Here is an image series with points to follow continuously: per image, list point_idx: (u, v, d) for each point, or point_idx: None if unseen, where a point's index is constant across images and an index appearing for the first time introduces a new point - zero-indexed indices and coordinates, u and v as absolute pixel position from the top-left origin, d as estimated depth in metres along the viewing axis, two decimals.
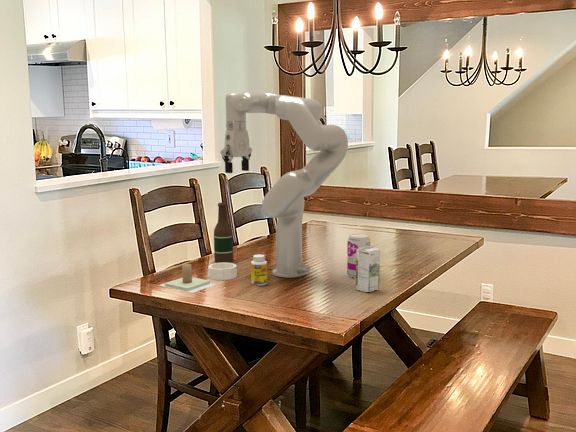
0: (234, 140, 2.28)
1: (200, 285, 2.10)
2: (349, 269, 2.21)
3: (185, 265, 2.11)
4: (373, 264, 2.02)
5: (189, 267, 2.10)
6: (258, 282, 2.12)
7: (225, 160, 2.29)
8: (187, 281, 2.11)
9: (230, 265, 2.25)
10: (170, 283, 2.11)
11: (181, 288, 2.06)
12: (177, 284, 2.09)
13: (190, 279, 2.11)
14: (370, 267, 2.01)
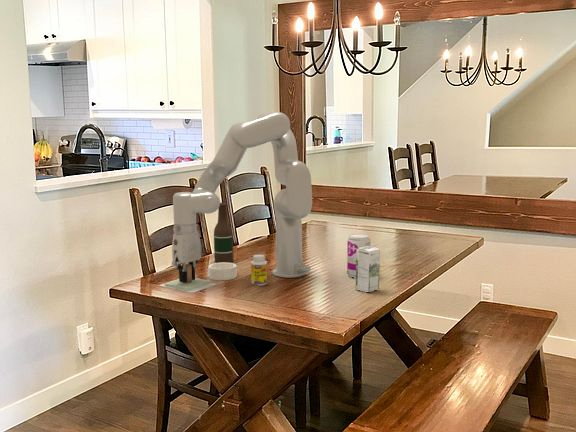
0: (182, 245, 2.05)
1: (200, 285, 2.10)
2: (349, 269, 2.21)
3: None
4: (373, 264, 2.02)
5: (189, 267, 2.10)
6: (258, 282, 2.12)
7: (179, 269, 2.09)
8: (187, 281, 2.11)
9: (230, 265, 2.25)
10: (170, 283, 2.11)
11: (181, 288, 2.06)
12: (177, 284, 2.09)
13: (190, 279, 2.11)
14: (370, 267, 2.01)
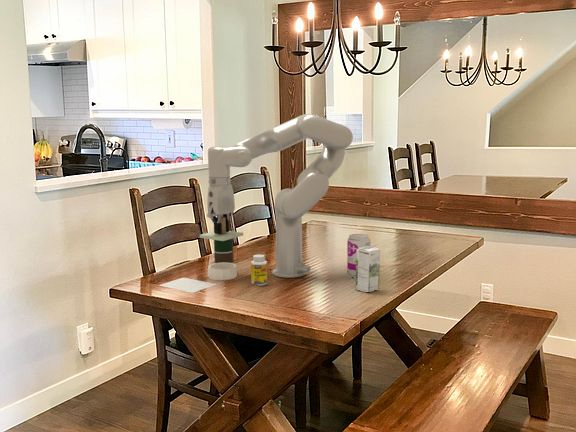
0: (217, 197, 2.13)
1: (234, 236, 2.18)
2: (349, 269, 2.21)
3: None
4: (373, 264, 2.02)
5: (223, 219, 2.18)
6: (258, 282, 2.12)
7: (214, 221, 2.16)
8: None
9: (230, 265, 2.25)
10: (205, 235, 2.19)
11: (217, 238, 2.14)
12: (212, 235, 2.17)
13: (224, 231, 2.19)
14: (370, 267, 2.01)
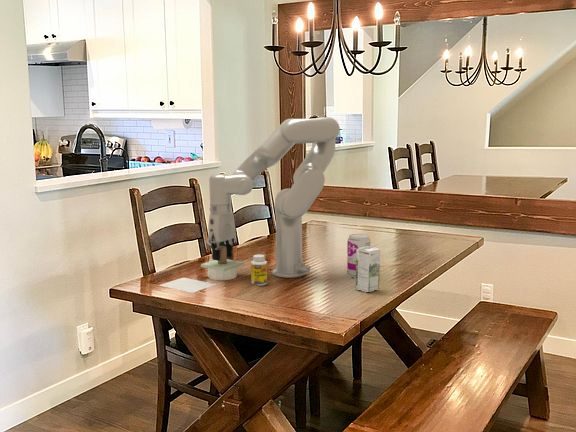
0: (218, 225, 2.15)
1: (235, 266, 2.20)
2: (349, 269, 2.21)
3: (220, 247, 2.21)
4: (373, 264, 2.02)
5: (224, 249, 2.20)
6: (258, 282, 2.12)
7: (212, 247, 2.17)
8: (222, 262, 2.21)
9: None
10: (206, 264, 2.21)
11: (217, 268, 2.16)
12: (213, 265, 2.19)
13: (225, 260, 2.21)
14: (370, 267, 2.01)
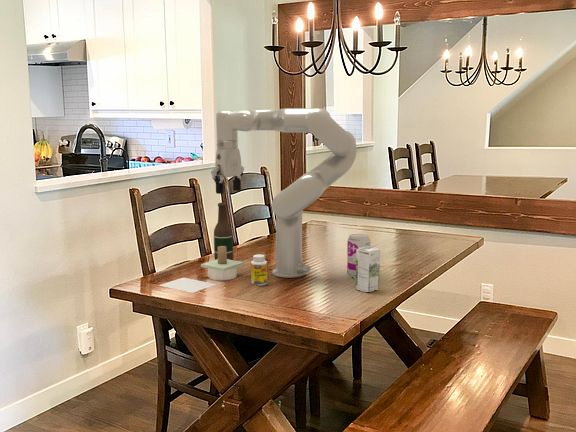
0: (225, 160, 2.19)
1: (235, 266, 2.20)
2: (349, 269, 2.21)
3: (220, 247, 2.21)
4: (373, 264, 2.02)
5: (224, 249, 2.20)
6: (258, 282, 2.12)
7: (216, 180, 2.20)
8: (222, 262, 2.21)
9: None
10: (206, 264, 2.21)
11: (217, 268, 2.16)
12: (213, 265, 2.19)
13: (225, 260, 2.21)
14: (370, 267, 2.01)
